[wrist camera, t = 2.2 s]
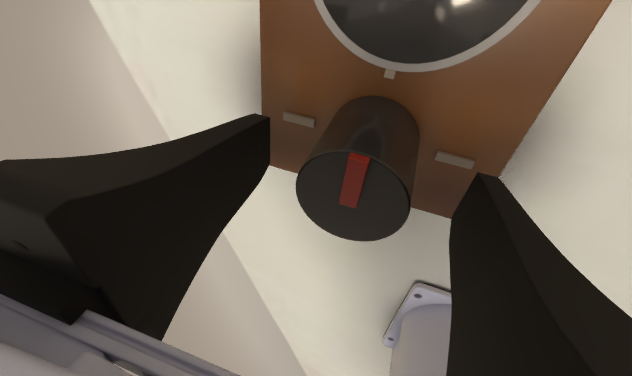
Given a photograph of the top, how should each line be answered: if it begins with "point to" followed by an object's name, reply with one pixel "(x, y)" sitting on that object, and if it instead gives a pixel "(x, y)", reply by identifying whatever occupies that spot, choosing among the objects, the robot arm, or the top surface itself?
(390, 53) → the heating plate
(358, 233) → the dial
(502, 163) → the warmer
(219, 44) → the top surface
